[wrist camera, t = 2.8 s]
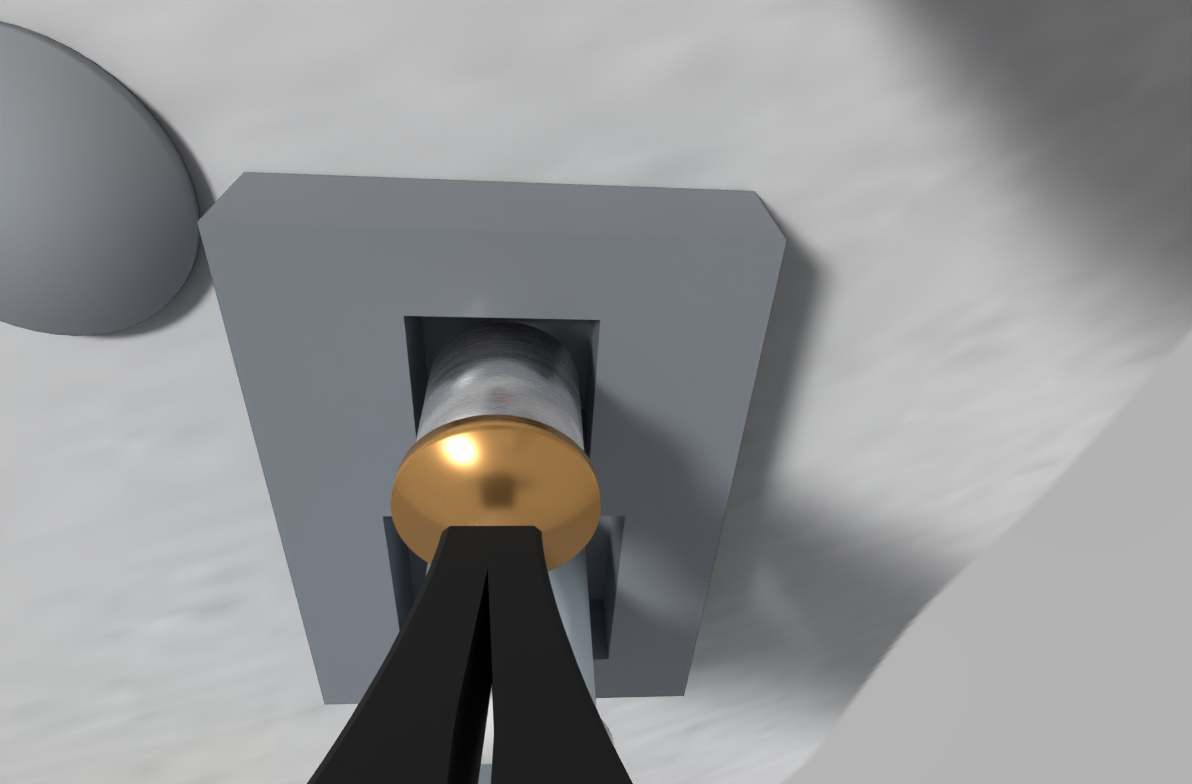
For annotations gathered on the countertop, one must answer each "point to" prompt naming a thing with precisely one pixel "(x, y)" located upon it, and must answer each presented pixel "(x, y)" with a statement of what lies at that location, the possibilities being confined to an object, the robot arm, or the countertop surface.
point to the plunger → (499, 444)
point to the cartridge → (576, 620)
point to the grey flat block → (474, 296)
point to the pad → (85, 196)
